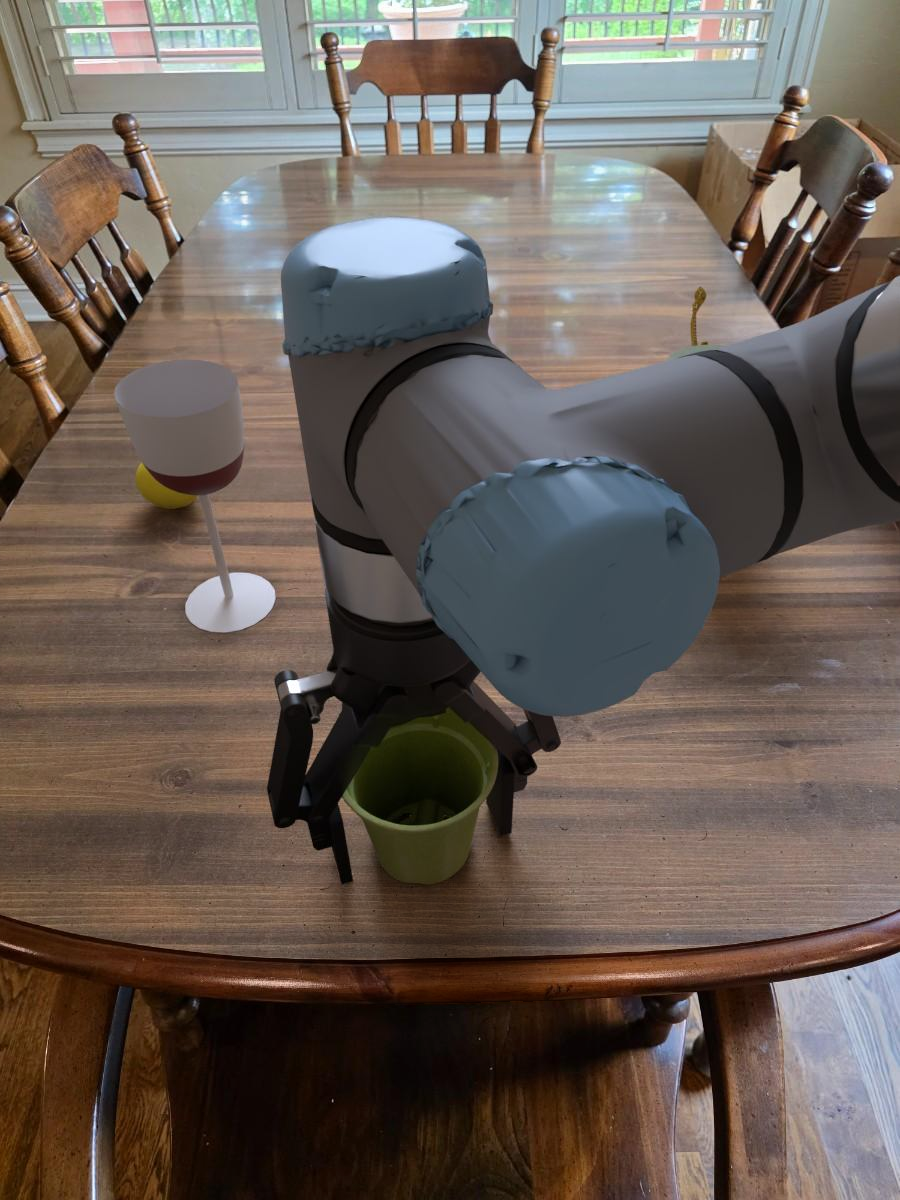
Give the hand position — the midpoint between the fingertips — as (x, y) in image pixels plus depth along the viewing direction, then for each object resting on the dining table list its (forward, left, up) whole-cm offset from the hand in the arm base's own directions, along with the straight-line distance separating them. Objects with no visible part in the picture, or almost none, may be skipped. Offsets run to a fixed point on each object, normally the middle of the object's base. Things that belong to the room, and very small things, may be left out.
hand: (422, 840), depth 55 cm
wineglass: (+27, +9, 0) cm, 29 cm away
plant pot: (0, 0, 0) cm, 0 cm away
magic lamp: (+41, -44, 0) cm, 60 cm away
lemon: (+43, +12, 0) cm, 45 cm away
